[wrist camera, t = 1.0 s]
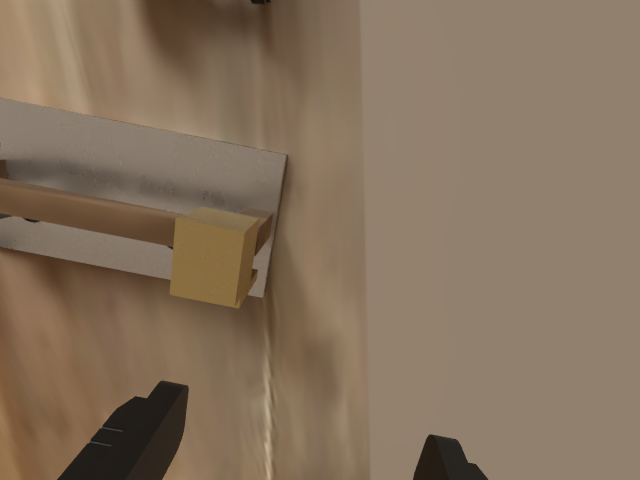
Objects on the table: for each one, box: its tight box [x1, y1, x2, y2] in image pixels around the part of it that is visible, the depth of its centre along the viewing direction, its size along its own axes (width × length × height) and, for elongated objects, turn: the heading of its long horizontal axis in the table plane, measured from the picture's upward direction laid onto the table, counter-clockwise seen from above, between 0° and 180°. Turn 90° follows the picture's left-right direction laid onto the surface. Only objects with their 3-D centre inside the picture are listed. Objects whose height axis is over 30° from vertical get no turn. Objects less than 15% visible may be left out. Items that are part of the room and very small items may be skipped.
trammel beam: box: [0, 159, 273, 256], centre depth 28 cm, size 5×27×8 cm, turn 79°
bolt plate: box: [0, 98, 288, 298], centre depth 32 cm, size 14×28×1 cm, turn 79°
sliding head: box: [170, 207, 260, 309], centre depth 26 cm, size 6×4×12 cm
